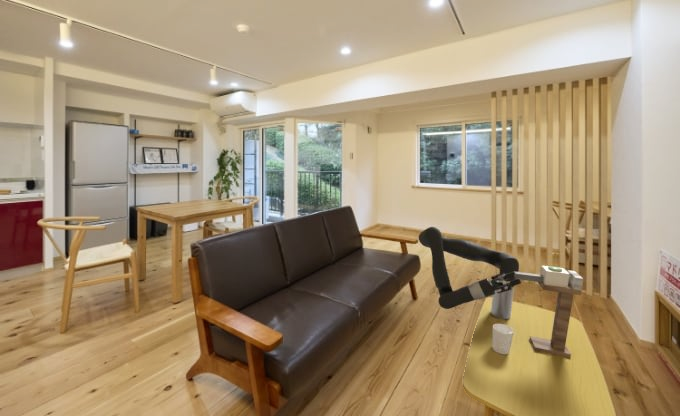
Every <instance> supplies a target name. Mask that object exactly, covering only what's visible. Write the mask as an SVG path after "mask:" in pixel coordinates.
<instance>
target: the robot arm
mask: <svg viewBox="0 0 680 416" xmlns="http://www.w3.org/2000/svg"><path fill="white" fill-rule="evenodd" d="M418 241H419V243H420V244H421V245H422V246H423V247H425V248H428V249H429V248H430V252H431V253H430V254H431V259H432V261H431V270H432V272H431V273H432V277H433V281H434V284H435V288H436V289H437V291H438V294H439V298H438V300H437V301H438V305H439V306H440V307H441V308H442V309H444V310H450V309H452V308H455V307H458V306H460V305H462V304H466V303H470V302H474V301H477V300H481V299H485V298H488V297H492V298H491V300H492V302H491V308H490V314H491V315H492V316H493V317H495V318H497V319H501V320H509V319H510V318H511V316H512V307H513V299H514V291H515V286H518V285H521V284H522V280H520V279H515V278H514V273H515V272H520V270H519V269H520V263H519V260H518V259H517V258H516V257H514V256H513V255H511V254H509V253H507V252H503V251H500V250H499V251H498V250H494V249H490V248H488V247H485V246H483V245H481V244H478V243H476V242H472V241H470V240H466V239H461V238H450V237H444V236H442V232H441V230H440V229H439V228H437V227H435V226H430V227H428V228H426V229H424V230H422V231H421V232H420V233H419V235H418ZM445 252H446V253H447V254H451V255H452V256H453V255H454V256H456V257H460V258H461V259H464V260H467V261H471V262H472V261H473V262H483V263H486V264H488V265H492V266H493V267H495V268H497V269H498V270H499V272H498V274H496V275H493V276H491V277H490V278H491V280H489V278H487V277H486V278H484V279H481V280H480V279H479V280H478V281H475V282H472V283H470V284H467V285H465V286H462V287H459V288H458V289H456V290H453V287H452V285H451V281H450V280H451V279H450V277H449V273H448V270H447V265H446V258H445Z"/></svg>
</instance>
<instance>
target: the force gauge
mask: <svg viewBox="0 0 680 416" xmlns="http://www.w3.org/2000/svg"><path fill="white" fill-rule="evenodd" d="M514 278H515V279H520V281H528V282H533V283H534V282H535V283H538V282H542V283H544V284H545V285H551V286H558V287H566V288H567V287H568V280H569V273H568V272H567V270H566V269H565V268H563V267H558V266H553V265H551V266H550V265H541V268H540V273H529V272H522V271H518V272H515V273H514Z"/></svg>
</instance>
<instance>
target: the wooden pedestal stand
mask: <svg viewBox="0 0 680 416" xmlns="http://www.w3.org/2000/svg"><path fill="white" fill-rule="evenodd" d="M566 271H567V272H568V273H569V280H568V287H567V288H566V287H558V286H551V285H545V284H544V283H542V282H537V283H538V285H539V286H540V287H541V289H542V290H543V291H549V292H555V293H557V297H556V299H557V300H556V305H555V311H554V317H553V319H554V320H553V325H552V331H551V332H552V333H551V336H550V337H551V339H548V338H543V337H537V336H530V335H529V341H530V343H531V345H532V348H533V349H534V351H535V352H539V353H545V354H550V355H556V356H561V357H565V358H571V357H572V354H571V352H570V351H569V349H568V346H566V345H567V337H568V330H569V325H570V318H571V313H572V306H573V300H574V295H577V296H581V295H582V290H583V284H584V278H583V277H582V276H581V275H580V274H579V273H578V272H576V271H575V270H569V269H568V270H566Z"/></svg>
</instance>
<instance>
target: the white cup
mask: <svg viewBox="0 0 680 416" xmlns="http://www.w3.org/2000/svg"><path fill="white" fill-rule="evenodd" d="M514 331H515V330H514V329H513V328H512V327H511V326H510V325H507V324H504V323H494V324H492V334H491V335H492V336H491V338H492V339H491V342H492V343H491V348H492V350H493V351H494V352H495V353H497V354H501V355H509V353H510V351H511V347H512V342H513V337H514V334H515V333H514Z"/></svg>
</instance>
